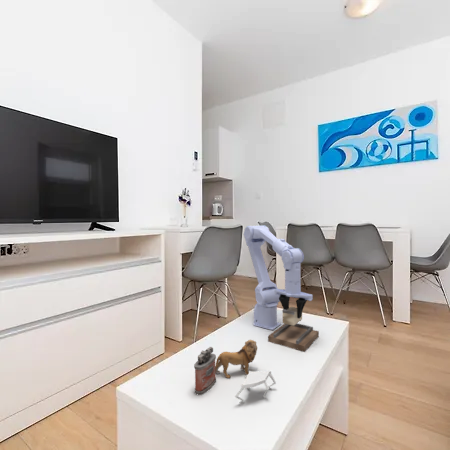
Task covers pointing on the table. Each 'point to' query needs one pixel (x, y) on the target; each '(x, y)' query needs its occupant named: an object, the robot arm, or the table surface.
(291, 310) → the beige lidded box
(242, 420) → the table surface
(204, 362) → the lighter
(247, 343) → the lion figurine
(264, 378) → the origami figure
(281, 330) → the dock
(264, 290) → the robot arm
